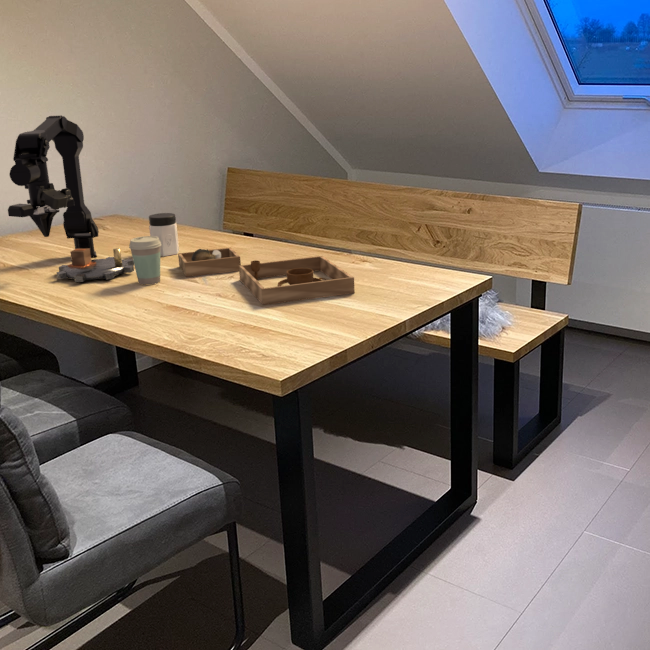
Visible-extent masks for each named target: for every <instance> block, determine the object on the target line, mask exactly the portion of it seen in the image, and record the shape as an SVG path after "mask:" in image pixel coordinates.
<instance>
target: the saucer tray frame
mask: <svg viewBox="0 0 650 650" xmlns="http://www.w3.org/2000/svg"><path fill="white" fill-rule="evenodd" d="M295 268H309V269H312V270H313V273H314V272H321V273H323V274H325V275H326V277H327V276H328V277H329V278H330V279H326V280H325V279H324V280H322V281H317V282H314V281H313V282H309V283H301V284H293V285H289V284H284V285H281V286H278V285H277V286H272V287H271V286H270V287H265V286H263V285H262V284H261V282H259V280H256V279H255V278H254V276H255V272H253V271H252V269H251V263H249V264H241V265H240V266H239V271H238V272H239V273H238V274H239V281H240V282H241V283H242V284H243V285H244V286H245V287H246V288H247V289H248V290H249V291H250V293H251V294H252V295H253V296H254V297H255V298H256V299H257V300H258V301H259V302H260V303H261V304H262V306H267V305H275V304H281V303H290V302H298V301H304V300H313V299H319V298H328V297H336V296H341V295H342V296H343V295H350V294H351V295H352V294H355V290H356V289H355V277H354V276H352V275H351V274H349V273H348V272H346V271H345V270H344V269H342V268H341V267H339V266H337V265H336V264H334V263H333V262H332V261H330V260H329V259H327V258H326V257H324V256H323V255H318V256H317V255H316V256H309V257H302V258H301V257H300V258H293V259H283V260H276V261H275V260H273V261H267V262H260V270H259V271H258V279H267V278H271V277H272V278H273V277H282V276H287V271H288V270H290V269H295Z"/></svg>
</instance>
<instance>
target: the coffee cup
mask: <svg viewBox="0 0 650 650" xmlns="http://www.w3.org/2000/svg"><path fill="white" fill-rule="evenodd" d="M128 246H129V247H128V248H129V249H130V252H131V256H132V260H133V262H134V271H135V273H136V278H137V282H138V284H139V285H141V284H144V285H143V286H146V285H145V284H152V285H155V283H156V284H159V283H160V282H161V256H160V246H161V242H160V240H159V238H158V237H155V236H150V235H146V236H145V235H144V236H137V237H134V238H131V239H130V241H129V245H128ZM158 282H159V283H158Z"/></svg>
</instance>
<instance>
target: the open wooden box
mask: <svg viewBox="0 0 650 650" xmlns="http://www.w3.org/2000/svg"><path fill="white" fill-rule="evenodd" d="M208 250H209V252H210V254H212V253H213V250H218V251H220V252H221V258H218V259H210V260H201V261H192V259H191V258H192V255H193V253H194V252H195V251H189V252H178V254H177V255H178V258H177V259H178V267H179V269H180V271H181V272H182V273H183V275H184V276H185V277H186V278H188V277H198V276H206V274H207V275H215V273H216V274H221V273H231V272H239V266H240V265H242V263H241V256H240V255H239V254H238V253H237V251H235V250H234V249H233V248H232V247H226V248H225V247H224V248H216V249H208Z"/></svg>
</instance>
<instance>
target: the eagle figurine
mask: <svg viewBox="0 0 650 650" xmlns="http://www.w3.org/2000/svg"><path fill="white" fill-rule="evenodd" d="M209 250H210V249H203V248H199V249H197V250H195V251H193V252H194V253H193V255H192V258H191V259H192V261H201V260H210V259H218V258H221V252H220V251H218V250H214V249H212V250H213V253H212V254H210V252H209Z"/></svg>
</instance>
